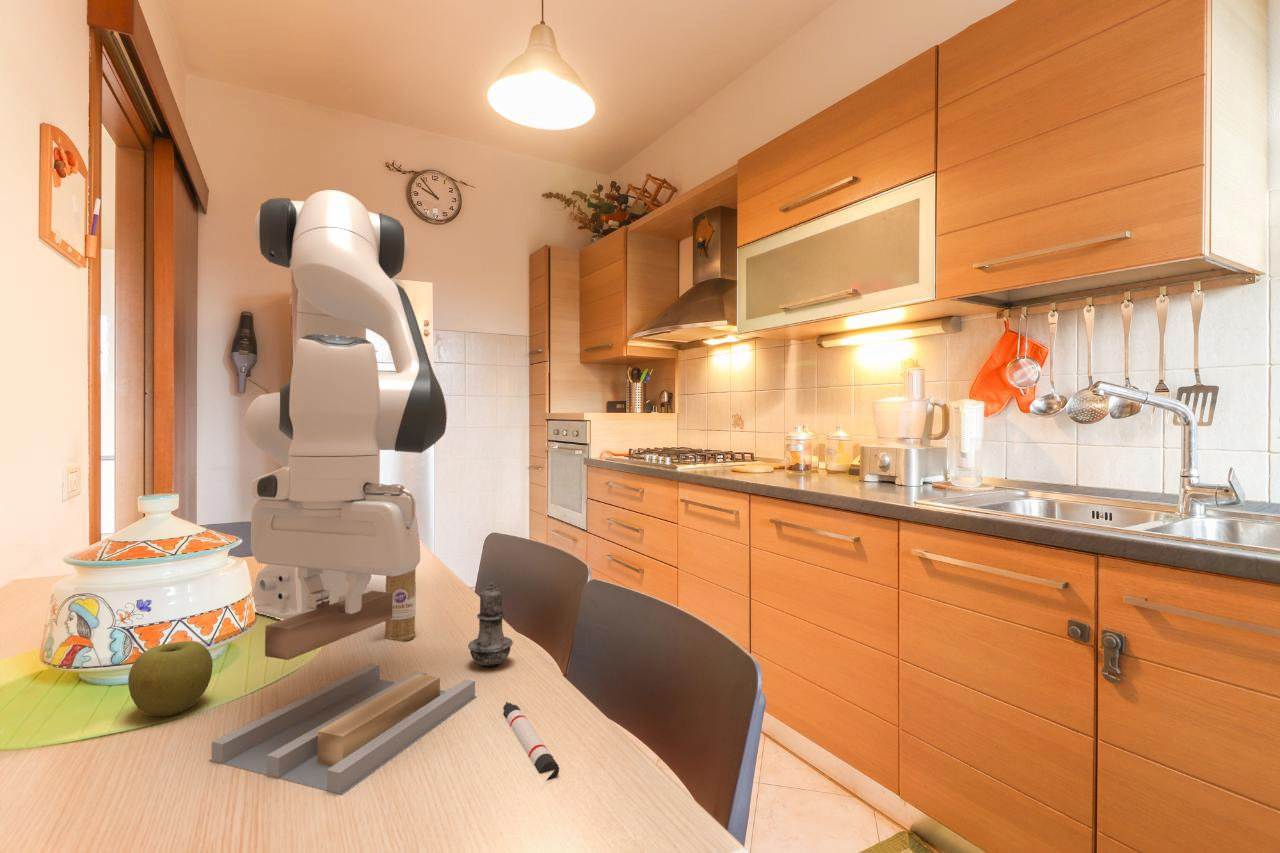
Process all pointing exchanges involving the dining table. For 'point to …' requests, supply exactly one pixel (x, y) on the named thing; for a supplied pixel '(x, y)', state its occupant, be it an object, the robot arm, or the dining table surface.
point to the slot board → (292, 731)
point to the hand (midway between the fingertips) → (333, 610)
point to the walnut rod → (324, 626)
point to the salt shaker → (490, 630)
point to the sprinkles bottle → (401, 607)
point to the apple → (170, 677)
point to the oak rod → (375, 718)
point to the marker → (530, 741)
